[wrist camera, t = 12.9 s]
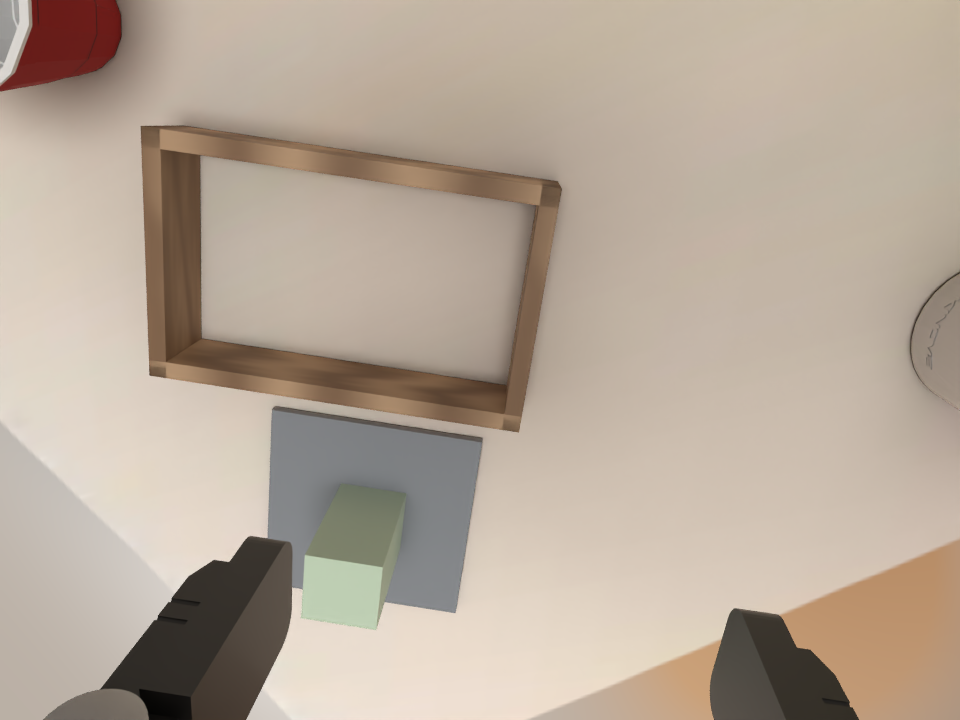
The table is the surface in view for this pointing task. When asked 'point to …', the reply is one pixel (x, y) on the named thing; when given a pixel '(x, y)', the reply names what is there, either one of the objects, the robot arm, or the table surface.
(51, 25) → the plastic cup
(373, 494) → the sage block
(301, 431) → the slate mat
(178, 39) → the table surface
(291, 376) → the wooden frame
